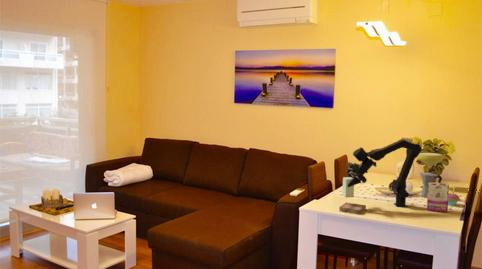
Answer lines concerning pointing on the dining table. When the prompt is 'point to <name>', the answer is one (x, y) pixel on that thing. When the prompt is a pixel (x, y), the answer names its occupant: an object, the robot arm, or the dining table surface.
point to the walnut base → (352, 208)
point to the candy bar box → (437, 197)
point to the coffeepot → (428, 178)
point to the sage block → (347, 188)
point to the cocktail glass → (430, 158)
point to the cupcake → (452, 198)
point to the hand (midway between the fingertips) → (346, 185)
